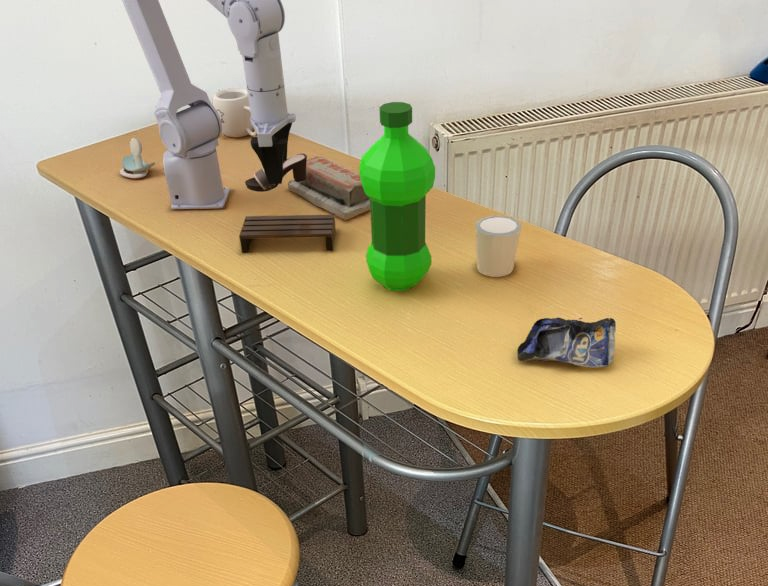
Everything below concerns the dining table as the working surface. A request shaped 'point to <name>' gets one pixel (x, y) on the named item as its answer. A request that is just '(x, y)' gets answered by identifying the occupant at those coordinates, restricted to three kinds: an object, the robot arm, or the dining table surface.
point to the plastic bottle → (397, 201)
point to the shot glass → (497, 245)
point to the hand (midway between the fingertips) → (277, 176)
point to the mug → (234, 112)
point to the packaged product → (332, 188)
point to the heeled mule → (299, 174)
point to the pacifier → (139, 165)
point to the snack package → (570, 342)
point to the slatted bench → (287, 228)
